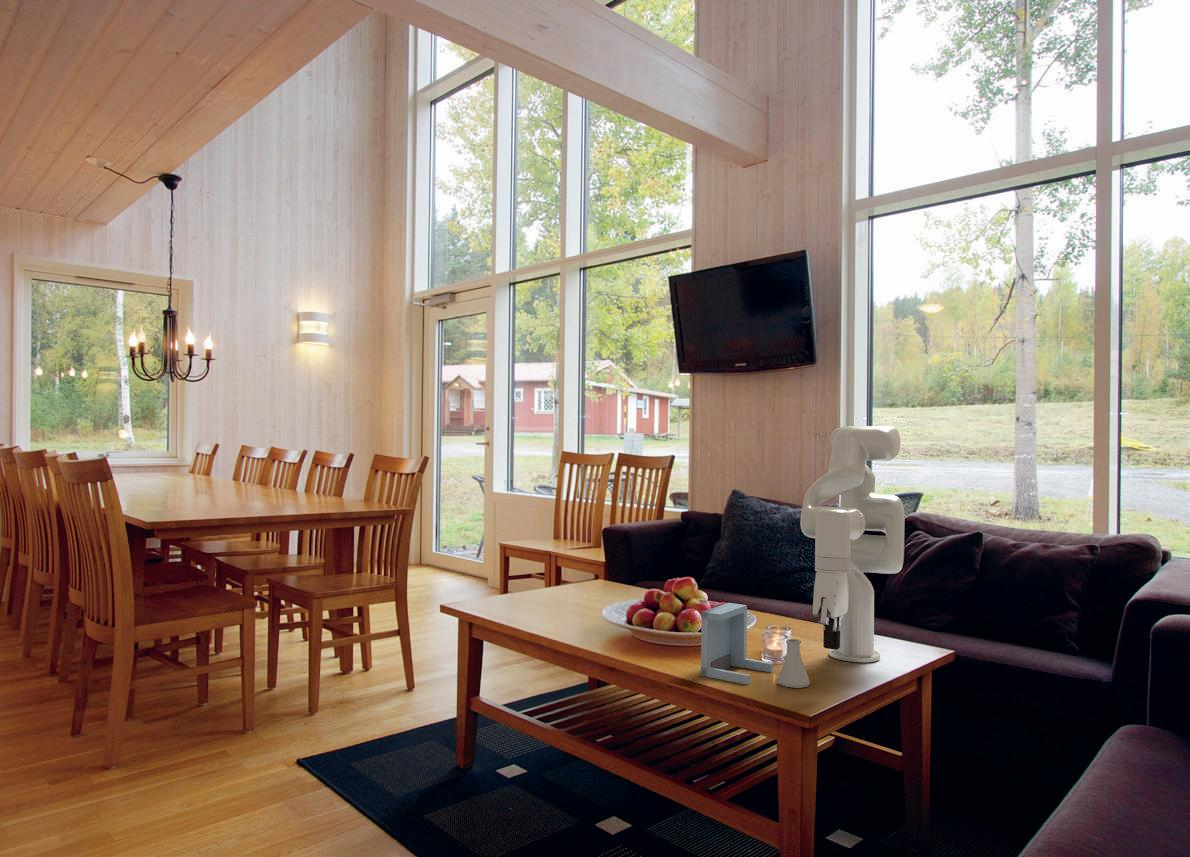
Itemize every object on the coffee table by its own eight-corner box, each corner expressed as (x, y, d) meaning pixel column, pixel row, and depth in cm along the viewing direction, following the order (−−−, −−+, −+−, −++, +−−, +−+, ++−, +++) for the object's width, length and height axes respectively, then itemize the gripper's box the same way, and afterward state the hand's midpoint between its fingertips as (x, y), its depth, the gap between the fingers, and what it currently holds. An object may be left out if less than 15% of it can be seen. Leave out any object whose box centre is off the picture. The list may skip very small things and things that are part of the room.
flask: (815, 684, 185) (816, 640, 186) (798, 691, 180) (799, 645, 180) (788, 678, 190) (788, 635, 191) (771, 684, 185) (771, 640, 186)
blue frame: (728, 663, 203) (728, 602, 203) (773, 671, 196) (773, 608, 196) (701, 675, 191) (701, 611, 192) (747, 684, 184) (748, 618, 185)
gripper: (828, 560, 189) (827, 640, 188) (803, 566, 177) (802, 651, 176) (860, 563, 184) (859, 645, 183) (837, 569, 172) (836, 656, 171)
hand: (831, 648), depth 180 cm, fingers closed
